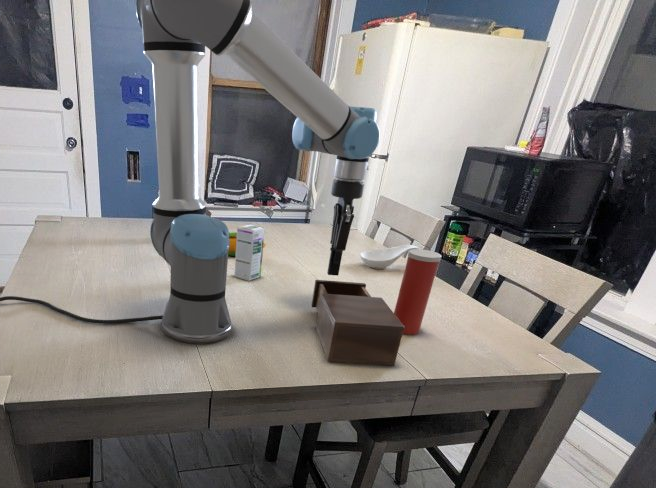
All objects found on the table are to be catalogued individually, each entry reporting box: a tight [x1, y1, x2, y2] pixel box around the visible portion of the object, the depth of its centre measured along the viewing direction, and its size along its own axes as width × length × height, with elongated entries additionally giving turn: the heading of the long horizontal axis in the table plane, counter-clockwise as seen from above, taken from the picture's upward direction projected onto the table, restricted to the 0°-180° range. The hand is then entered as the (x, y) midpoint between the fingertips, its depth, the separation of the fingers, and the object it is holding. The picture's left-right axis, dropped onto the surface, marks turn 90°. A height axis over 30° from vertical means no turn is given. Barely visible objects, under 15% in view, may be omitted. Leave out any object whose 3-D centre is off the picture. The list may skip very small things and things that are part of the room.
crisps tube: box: [393, 248, 442, 336], centre depth 111 cm, size 7×7×18 cm
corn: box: [228, 232, 267, 257], centre depth 161 cm, size 7×8×20 cm
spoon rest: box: [359, 244, 420, 270], centre depth 162 cm, size 24×12×7 cm, turn 102°
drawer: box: [310, 279, 372, 314], centre depth 116 cm, size 20×12×7 cm, turn 0°
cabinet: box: [315, 293, 404, 367], centre depth 103 cm, size 17×14×9 cm
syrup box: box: [233, 223, 266, 282], centre depth 139 cm, size 6×6×14 cm
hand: (332, 274), depth 129 cm, fingers closed
